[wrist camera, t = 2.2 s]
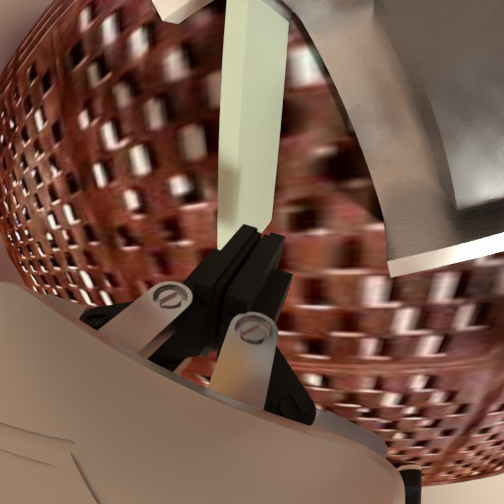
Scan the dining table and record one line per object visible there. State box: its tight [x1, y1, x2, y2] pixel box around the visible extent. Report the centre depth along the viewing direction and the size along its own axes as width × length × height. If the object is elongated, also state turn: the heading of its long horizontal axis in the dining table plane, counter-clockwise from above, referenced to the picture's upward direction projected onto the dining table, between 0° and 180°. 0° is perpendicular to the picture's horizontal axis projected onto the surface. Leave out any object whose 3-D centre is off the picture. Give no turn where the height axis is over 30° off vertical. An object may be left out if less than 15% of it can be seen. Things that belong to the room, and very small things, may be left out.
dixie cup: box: [397, 465, 422, 504], centre depth 32 cm, size 8×8×11 cm
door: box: [218, 0, 292, 250], centre depth 15 cm, size 1×16×7 cm, turn 177°
